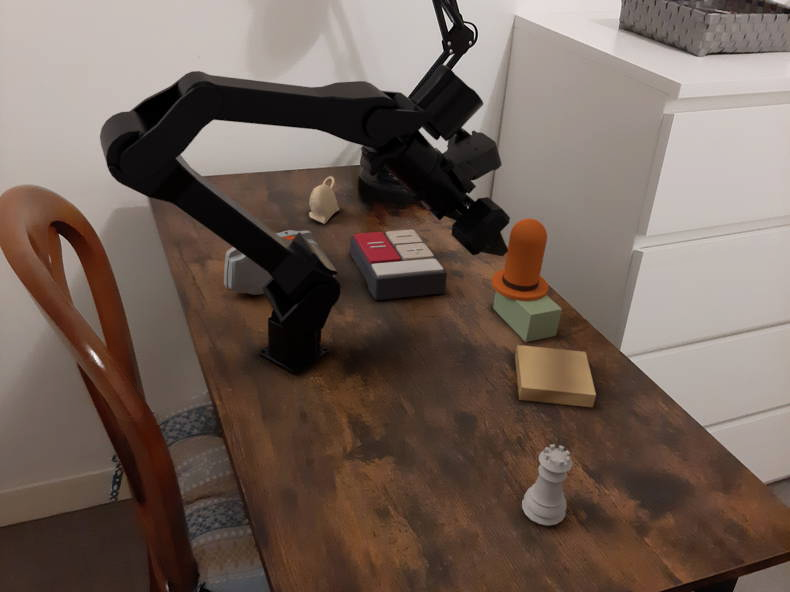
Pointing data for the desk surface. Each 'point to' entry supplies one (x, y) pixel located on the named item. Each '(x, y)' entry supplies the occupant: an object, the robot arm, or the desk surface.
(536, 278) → the hat
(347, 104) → the robot arm
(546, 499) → the rook chess piece
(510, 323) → the sage box
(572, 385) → the stand
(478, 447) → the desk surface
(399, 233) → the calculator
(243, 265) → the handheld gaming console
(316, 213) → the decorative ornament
